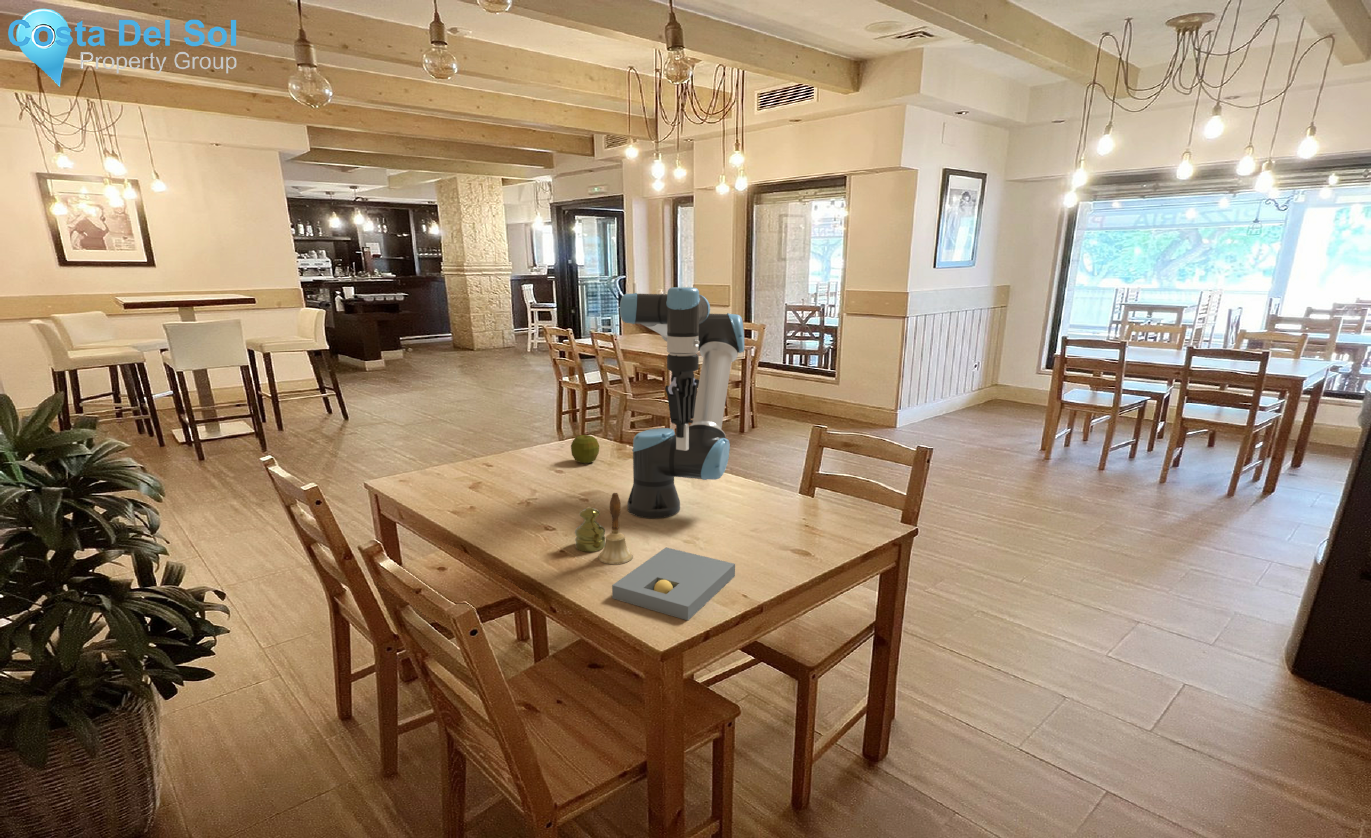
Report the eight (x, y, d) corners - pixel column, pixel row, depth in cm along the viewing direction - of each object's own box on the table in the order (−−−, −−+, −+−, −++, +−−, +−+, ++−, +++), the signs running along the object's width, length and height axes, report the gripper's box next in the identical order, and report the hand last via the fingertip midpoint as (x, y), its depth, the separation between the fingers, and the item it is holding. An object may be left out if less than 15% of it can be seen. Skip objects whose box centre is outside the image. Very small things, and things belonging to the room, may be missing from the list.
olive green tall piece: (592, 555, 156) (591, 516, 154) (569, 548, 160) (567, 509, 157) (611, 544, 162) (610, 506, 160) (588, 538, 166) (587, 501, 164)
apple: (567, 465, 228) (566, 435, 226) (576, 458, 237) (575, 428, 235) (594, 467, 226) (594, 436, 224) (602, 459, 236) (602, 430, 233)
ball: (657, 597, 137) (648, 596, 134) (661, 578, 138) (652, 577, 134) (673, 601, 135) (665, 601, 132) (678, 582, 136) (669, 581, 133)
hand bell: (599, 550, 158) (597, 488, 155) (633, 549, 159) (632, 487, 156) (597, 565, 150) (595, 500, 147) (633, 564, 151) (632, 499, 148)
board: (612, 598, 135) (612, 585, 134) (666, 559, 154) (666, 547, 153) (688, 620, 127) (688, 606, 126) (734, 576, 145) (735, 563, 145)
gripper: (683, 357, 146) (683, 458, 152) (709, 351, 157) (707, 445, 163) (655, 355, 150) (655, 453, 155) (682, 349, 161) (681, 441, 166)
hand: (682, 449), depth 159 cm, fingers closed
